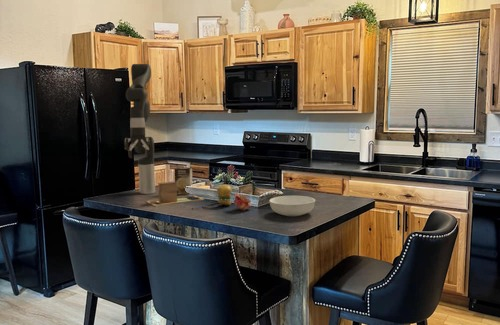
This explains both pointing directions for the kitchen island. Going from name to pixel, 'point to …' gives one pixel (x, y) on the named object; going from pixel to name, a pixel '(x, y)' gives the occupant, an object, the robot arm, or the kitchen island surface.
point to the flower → (241, 202)
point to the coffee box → (183, 178)
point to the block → (167, 192)
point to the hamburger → (224, 194)
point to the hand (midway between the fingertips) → (138, 157)
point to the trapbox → (179, 200)
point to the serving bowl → (292, 205)
